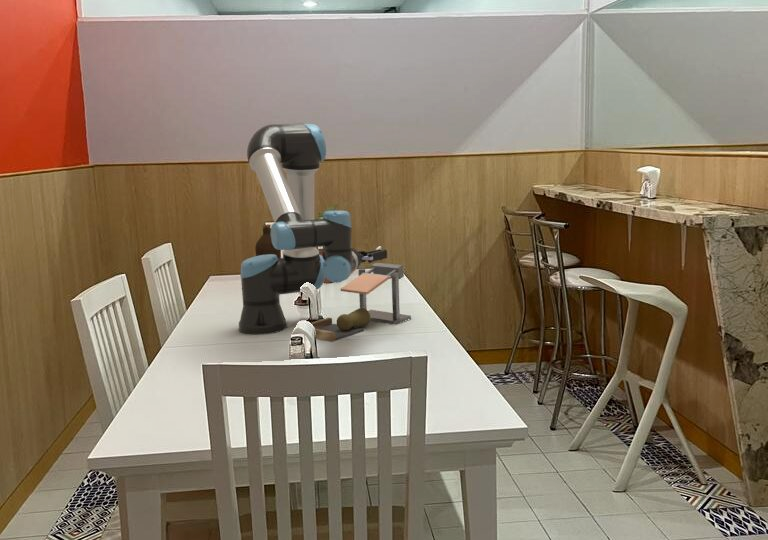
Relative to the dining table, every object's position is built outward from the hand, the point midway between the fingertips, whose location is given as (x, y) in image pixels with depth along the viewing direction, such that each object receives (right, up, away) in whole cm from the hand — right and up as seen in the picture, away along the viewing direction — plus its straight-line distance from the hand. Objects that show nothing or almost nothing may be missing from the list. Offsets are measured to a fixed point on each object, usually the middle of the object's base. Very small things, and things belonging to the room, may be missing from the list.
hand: (359, 250), depth 238 cm
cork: (+1, -21, 0) cm, 21 cm away
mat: (-7, -26, -6) cm, 27 cm away
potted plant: (-17, -11, +81) cm, 84 cm away
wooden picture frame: (-8, -26, -6) cm, 28 cm away
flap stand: (+7, -22, +10) cm, 26 cm away
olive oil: (-41, -12, +80) cm, 91 cm away
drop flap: (+5, -12, +5) cm, 13 cm away
